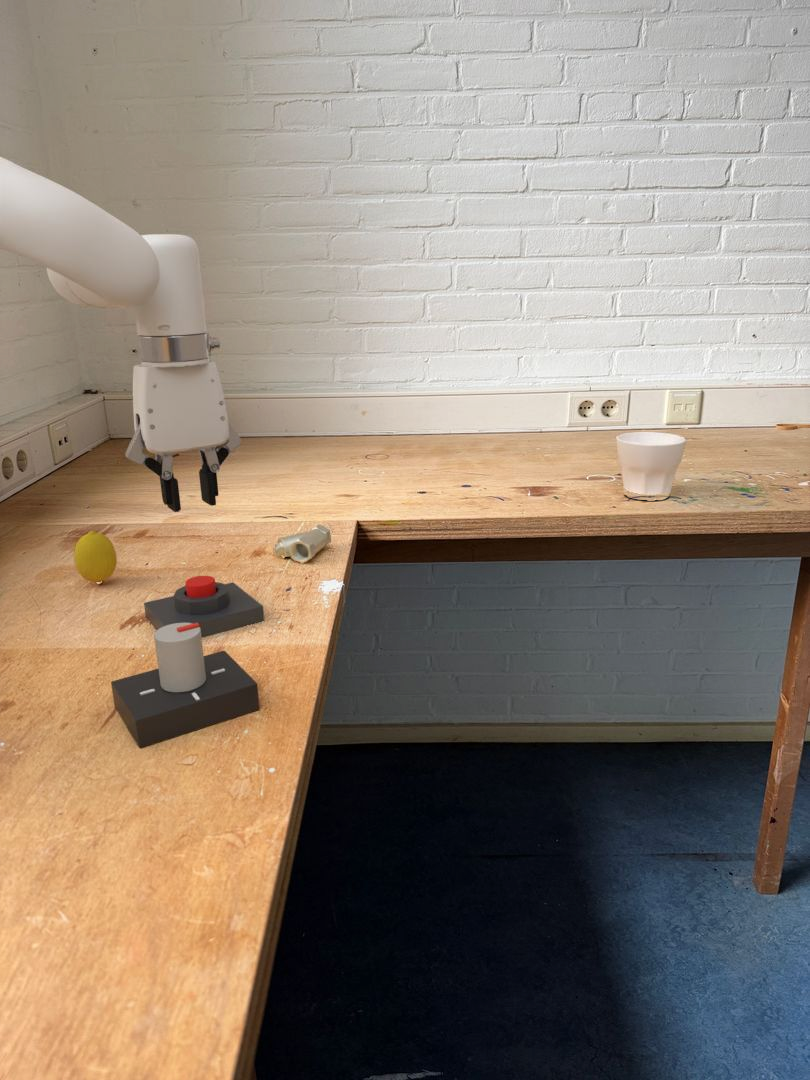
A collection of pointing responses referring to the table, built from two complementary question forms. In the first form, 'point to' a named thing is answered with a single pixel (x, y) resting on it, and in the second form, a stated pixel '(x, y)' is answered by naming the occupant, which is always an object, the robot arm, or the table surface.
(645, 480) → the cup
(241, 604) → the switch block
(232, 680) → the panel
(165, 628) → the timer dial
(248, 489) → the table surface
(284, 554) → the pipe fitting
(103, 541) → the lemon
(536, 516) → the table surface
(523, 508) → the table surface
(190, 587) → the power button
